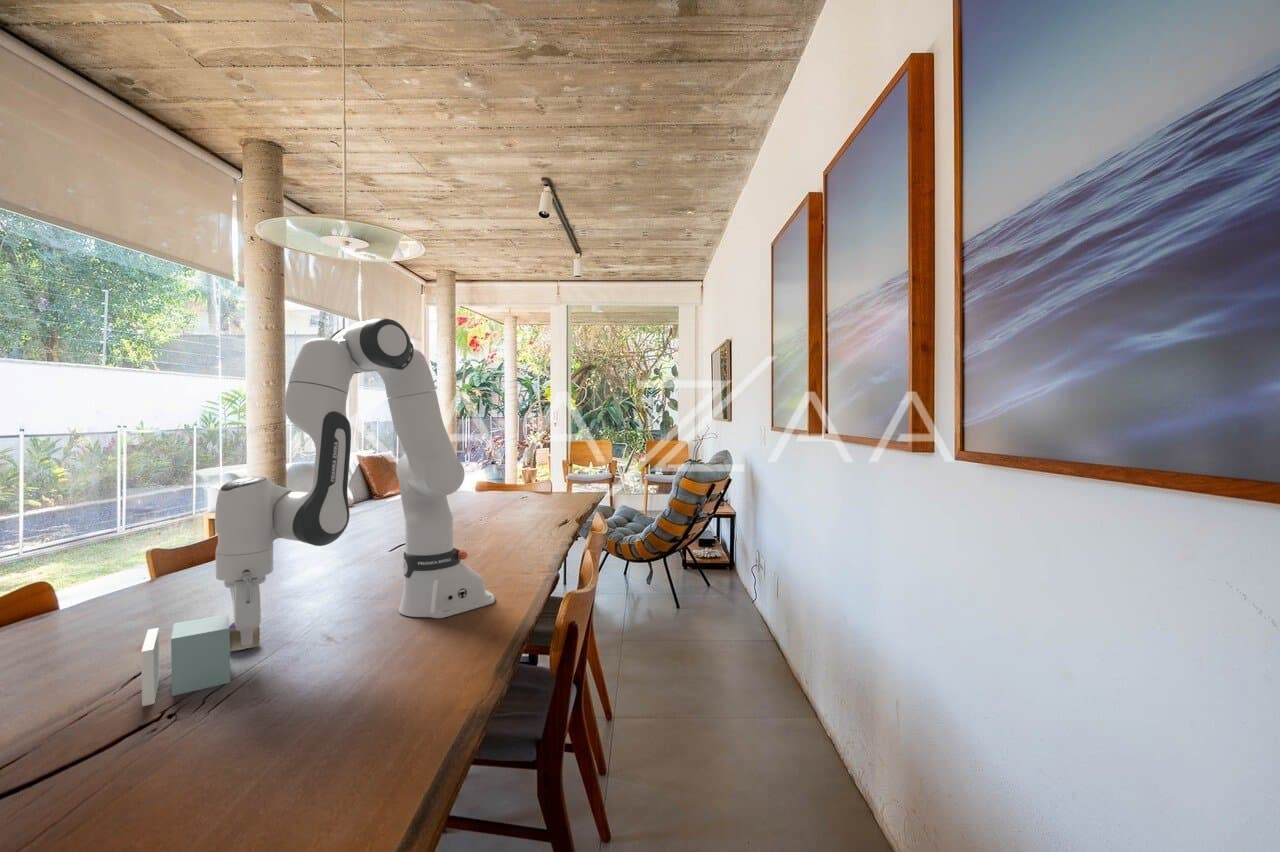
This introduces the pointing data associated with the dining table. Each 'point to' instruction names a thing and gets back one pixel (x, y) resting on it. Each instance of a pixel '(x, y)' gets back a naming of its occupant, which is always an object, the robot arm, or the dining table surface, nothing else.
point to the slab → (150, 666)
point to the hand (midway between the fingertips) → (246, 639)
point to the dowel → (236, 640)
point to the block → (200, 654)
